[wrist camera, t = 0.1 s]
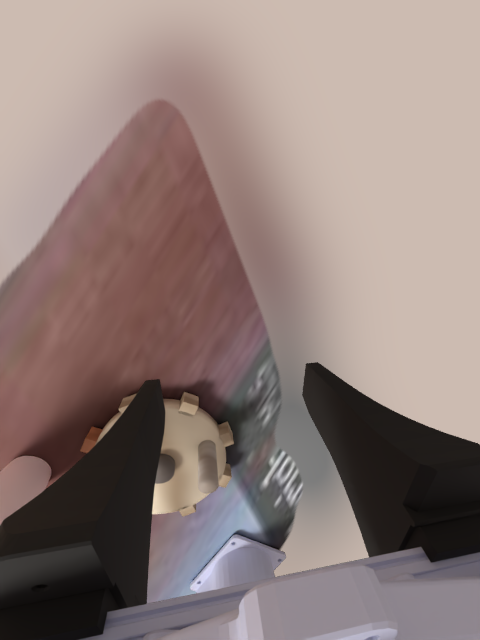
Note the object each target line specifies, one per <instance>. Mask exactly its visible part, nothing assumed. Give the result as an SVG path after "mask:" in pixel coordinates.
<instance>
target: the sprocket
mask: <svg viewBox="0 0 480 640" xmlns="http://www.w3.org/2000/svg"><path fill="white" fill-rule="evenodd" d="M135 396H136V394H134V395H131V396H128V397H126V398H123V400H122V402H121V404H120V406H119V411H120V412H119V413H117V414H116V415H115V416H114V417H113V418H112V419H111V420H110V421H109V422H108V423H107V424H106V425H105V427H104V428H103V429H99V428H95V427H91V429H90V431H89V433H88V434H87V436H86V438H85V440H84V443H83V445H82V448H81V450H80V451H81V452H85V453H88V452H89V451H90V450H91V449H92V448H93V447H94V446H95V445H96V444H97V443H98V442H99V441H100V440H101V439H102V438H103V436H104V435H105V434H106V433H107V432H108V431H109V430H110V428H111V427H112V426H113V425H114V423H115V422H116V421H117V420H118V419H119V417H120V416H121V415H122V414H123V412H124V411H125V409H126V408H127V407H128V405H129V404H130V403H131V401H132V400H133V398H134V397H135ZM163 401H164V406H165V411H166V412H165V429H164V437H163V442H162V448H161V453H160V459H159V464H158V470H157V475H156V481H155V488H154V497H153V509H152V514H164V513H171V512H175V511H180V513H181V515H182V516H186V515H188V514H191V513H194V512H196V503H197V502H199V501H201V500H202V499H204V498H205V497H206V496H207V495H208V494H210V493H212V492H214V491H216V490H217V488H218V486H221V487H225V488H226V486H227V484H228V482H229V481H230V479H231V477H232V476H231V468H230V464H226V450H225V447H226V446H229V445H231V444H234V440H233V434H232V431H231V428H230V426H229V424H228V421H227V422H225V423H222V424H219V425H218V424H217V422H216V421H215V420H214V419H213V418H212V417H211V416H210V415H209V414H208V413H207V412H205V411H204V410H203V409H201V408H199V397H198V396H195V395H192V394H189V393H186V392H184V394H183V396H182V398H181V400H175V399H163Z"/></svg>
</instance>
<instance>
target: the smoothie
mask: <svg viewBox="0 0 480 640" xmlns="http://www.w3.org/2000/svg"><path fill="white" fill-rule="evenodd" d="M50 477H51V468H50V466H49V465H48V463H47V462H45V461H44V460H43V459H41V458H38V457H35V456H21V457H18V458H15V459H14V460H12V461H11V462H10V463H9V464H8V465H7V466H6V467H5V468H4V469H3V470H2V471H1V472H0V525H1V523H2V522H3V520H4V519H5V518H7V517H8V516H10V515H11V514H13V513H14V512H15V511H17V510H18V509H20V508H21V507H22V506H24V505H25V504H27V503H28V502H29V501H31V500H32V499H34V498H35V497H36V496H38V495H39V494H40V493H42V492H43V491H44V490H45V488H46V486H47V484H48V481H49V479H50Z"/></svg>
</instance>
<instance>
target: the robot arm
mask: <svg viewBox="0 0 480 640" xmlns="http://www.w3.org/2000/svg"><path fill="white" fill-rule="evenodd" d="M302 395H303V398H304V401H305V404H306V406H307V409H308V412H309V414H310V416H311V418H312V420H313V422H314V423H315V426H316V427H317V429H318V431H319V433H320V435H321V437H322V439H323V441H324V443H325V445H326V446H327V448H328V450H329V452H330V454H331V456H332V458H333V460H334V463H335V465H336V467H337V470H338V472H339V474H340V477H341V480H342V482H343V484H344V487H345V490H346V492H347V495H348V498H349V500H350V503H351V506H352V508H353V511H354V514H355V517H356V519H357V522H358V525H359V528H360V531H361V533H362V537H363V540H364V543H365V546H366V549H367V552H368V555H369V558H364V559H360V560H355V561H350V562H345V563H340V564H336V565H331V566H326V567H322V568H316V569H312V570H307V571H302V572H297V573H293V574H288V575H283V576H278V577H275V575H274V570H275V569H276V568H277V567H278V566H279V565H280V563H281V562H282V561H283V560H284V559H285V558H286V555H285V552H283V551H280V550H277V549H275V548H272V547H269V546H267V545H264V544H261V543H259V542H256V541H253V540H251V539H248V538H245V537H243V536H240V535H237V534H236V535H233V536H232V537H231V538H230V539H229V541H228V542H227V543H226V544H225V545H224V546H223V547H222V548H221V550H220V551H219V552H218V553H217V554H216V555H215V556H214V558H213V559H212V560H211V561H210V562H209V563H208V564H207V566H206V567H205V568H204V569H203V570H202V571H201V572H200V574H199V575H198V576H197V577H196V578H195V579H194V580H193V581H192V583H191V584H190V589H191V590H193V591H196V594H192V595H187V596H182V597H177V598H172V599H168V600H163V601H158V602H153V603H148V604H146V603H147V583H148V565H149V549H150V534H151V521H152V509H153V497H154V488H155V481H156V475H157V470H158V464H159V459H160V453H161V448H162V442H163V437H164V429H165V412H166V411H165V406H164V401H163V396H162V391H161V385H160V380H159V379H157V380H148V381H145V382H144V384H143V385H142V387H141V388H140V390H139V391H138V393H137V394H136V396H135V397H134V398H133V400H132V401H131V403H130V404H129V405H128V407H127V408H126V409H125V411H124V412H123V414H122V415H121V416H120V417H119V419H118V420H117V421H116V422H115V423H114V425H113V426H112V427H111V428H110V430H109V431H108V432H107V433H106V434H105V435H104V436H103V438H102V439H101V440H100V441H99V442H98V443H97V444H96V445H95V446H94V447H93V448H92V449H91V450H90V451H89V452H88V453H87V454H86V455H85V456H84V457H83V458H82V459H81V460H80V461H78V462H77V463H76V464H75V465H74V466H73V467H72V468H71V469H70V470H69V471H67V472H66V473H65V474H64V475H63V476H62V477H60V478H59V479H58V480H57V481H56V482H54V483H53V484H52V485H50V486H49V487H48V488H47V489H45V490H44V491H43V492H42V493H40V494H39V495H38V496H36V497H35V498H34V499H32V500H31V501H29V502H28V503H27V504H25V505H24V506H22V507H21V508H20V509H18V510H17V511H15V512H14V513H13V514H11V515H10V516H8V517H7V518H5V519H4V520H3V522H2V523H1V525H0V640H480V445H479V444H478V443H475V442H471V441H468V440H465V439H462V438H459V437H456V436H453V435H449V434H446V433H444V432H441V431H439V430H436V429H433V428H430V427H428V426H425V425H423V424H421V423H418V422H416V421H414V420H411V419H409V418H407V417H405V416H403V415H400V414H398V413H396V412H394V411H392V410H390V409H389V408H387V407H385V406H383V405H381V404H379V403H377V402H376V401H374V400H372V399H371V398H369V397H367V396H366V395H364V394H362V393H361V392H359V391H358V390H356V389H355V388H353V387H352V386H350V385H349V384H347V383H346V382H344V381H343V380H342V379H340V378H339V377H337V376H336V375H335V374H333V373H332V372H330V371H329V370H328V369H326V368H325V367H323V366H322V365H321V364H319V363H318V362H317V363H309V364H308V363H307V364H306V369H305V377H304V386H303V394H302Z"/></svg>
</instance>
